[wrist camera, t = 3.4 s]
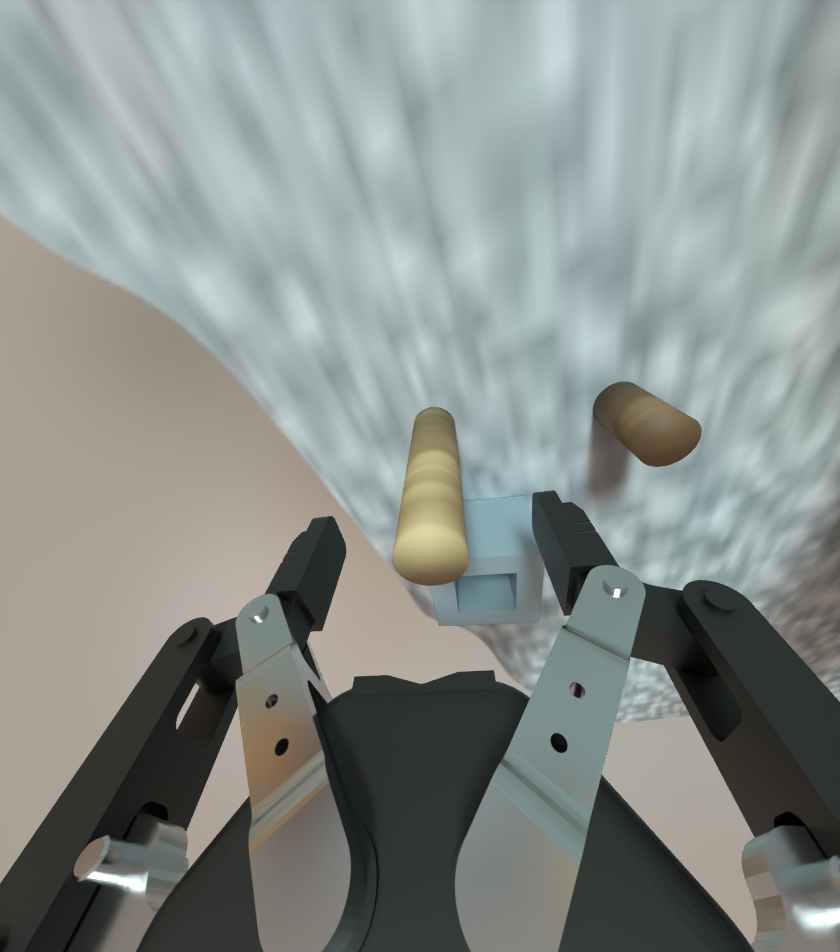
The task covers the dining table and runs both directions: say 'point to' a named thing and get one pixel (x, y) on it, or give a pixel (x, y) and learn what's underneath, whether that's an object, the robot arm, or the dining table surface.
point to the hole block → (495, 568)
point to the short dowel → (646, 424)
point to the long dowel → (432, 505)
